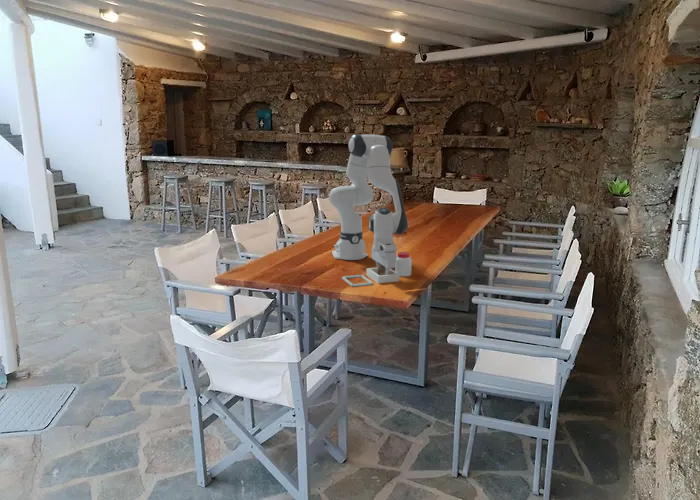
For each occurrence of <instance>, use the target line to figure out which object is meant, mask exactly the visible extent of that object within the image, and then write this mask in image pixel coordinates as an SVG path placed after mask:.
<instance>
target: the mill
mask: <svg viewBox="0 0 700 500" xmlns="http://www.w3.org/2000/svg"><path fill="white" fill-rule="evenodd" d="M385 270H386V269H385V266H383V265H381V264H378V275H384V274H385V273H384V272H385Z"/></svg>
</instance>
